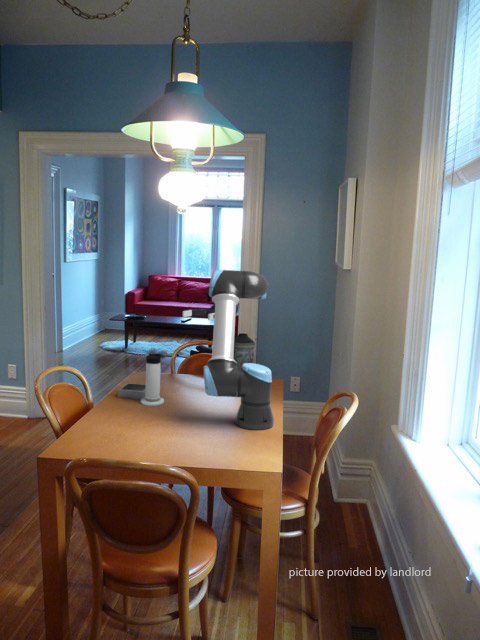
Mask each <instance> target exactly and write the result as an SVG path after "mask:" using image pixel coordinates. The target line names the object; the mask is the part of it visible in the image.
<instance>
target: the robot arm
mask: <svg viewBox="0 0 480 640" xmlns="http://www.w3.org/2000/svg"><path fill="white" fill-rule="evenodd" d="M208 288H209V290H208V296H209V297H210V298H211V301H212V303H214V304H213V305H210V307H208V308H195V309H194V308H193V309H192V308H191V309H186V310H183V311H182V318H187V317H189V318H190V317H192V316H202V317H207V320H208V321H214V322H213V334H212V337H213V338H212V349H211V351H212V352H211V358H209V359H208V361H207V364H206V365H204V366H203V382H204V384H203V385H204V391H205V394H206V395H207V396H211V397H216V398H218V397H221V398H223V397H224V398H225V397H227V398H240V403H239V406H238V410H237V412H236V415H235V425H236V426H239V427H240V428H242V429H247V430H253V431H255V430H256V431H258V430H260V431H261V430H268V429H270V428H272V427H274V425H275V424H274V423H275V422H274V421H275V419H274V415H273V411H272V406H271V397H272V383H273V379H272V378H273V377H272V376H273V375H272V374H273V373H272V370H271V369H270V368H269V367H268V366H265V365H262V364H259V363H255V364H253V363H245V364H243V365H242V367H237V362H236V361H235V360H234V359H233V355H234V337H235V333H236V331H235V329H236V328H235V327H236V316H238V315H239V314H240V312H241V307H240V305H239V304H240V300H241V299H249V300H265V299H267V292H268V290H269V282H268V280H267V278H266V277H265V276H263V275H262V274H260V273H258V272H255V271H249V270H235V269H234V270H231V269H215V270H214V271H213V272H212V275H211V277H210V282H209V287H208Z"/></svg>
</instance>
